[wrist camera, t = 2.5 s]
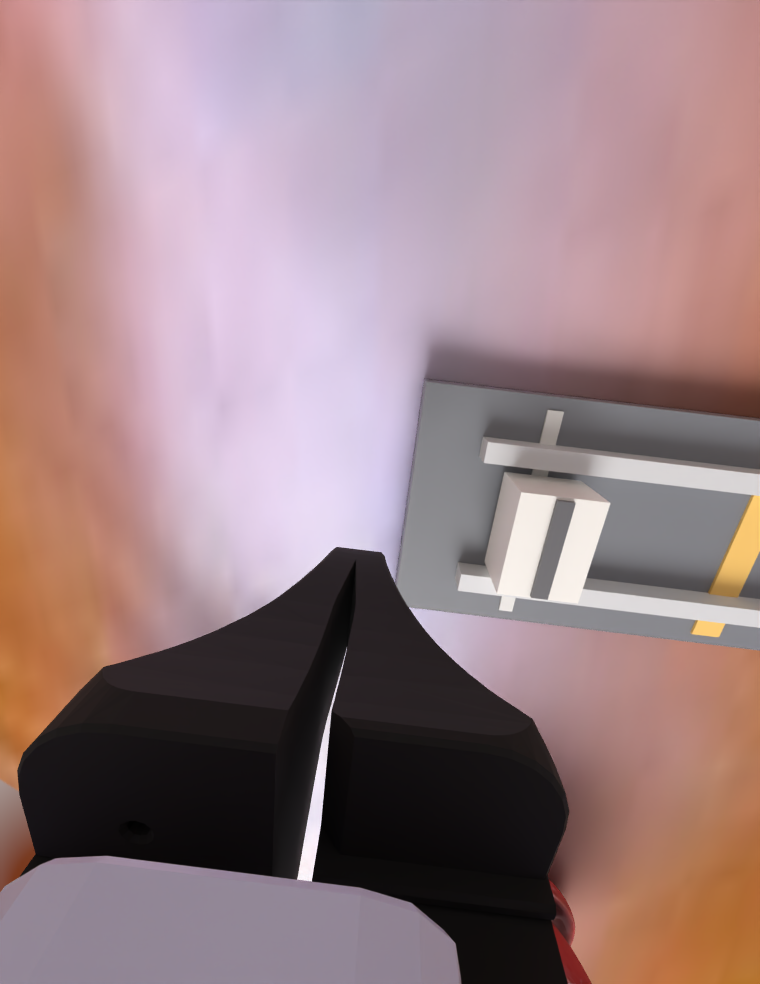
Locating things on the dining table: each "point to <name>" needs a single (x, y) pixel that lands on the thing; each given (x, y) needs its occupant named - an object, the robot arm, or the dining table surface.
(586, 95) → the dining table surface
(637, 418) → the board
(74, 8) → the dining table surface
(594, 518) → the fader tab
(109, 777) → the robot arm
